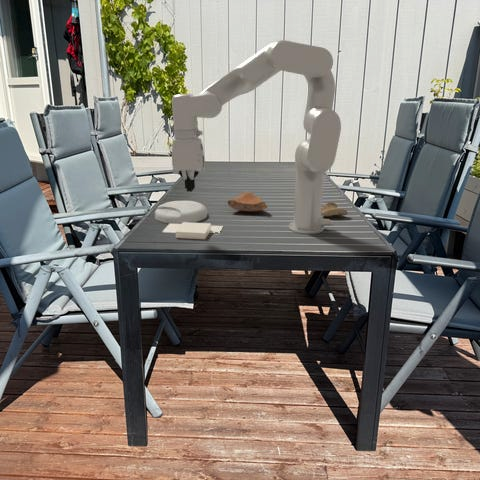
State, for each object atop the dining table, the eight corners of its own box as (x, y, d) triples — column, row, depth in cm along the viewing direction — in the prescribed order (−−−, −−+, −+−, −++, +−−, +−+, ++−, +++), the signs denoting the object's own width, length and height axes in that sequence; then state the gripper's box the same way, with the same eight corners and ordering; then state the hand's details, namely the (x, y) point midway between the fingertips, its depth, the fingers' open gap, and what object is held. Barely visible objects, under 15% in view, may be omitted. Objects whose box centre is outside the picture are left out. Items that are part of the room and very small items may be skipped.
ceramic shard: (275, 207, 191) (244, 196, 197) (276, 193, 188) (245, 183, 194) (258, 222, 181) (226, 211, 187) (259, 208, 177) (226, 197, 183)
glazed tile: (210, 223, 160) (183, 222, 162) (205, 233, 151) (175, 231, 152) (210, 230, 161) (183, 228, 163) (205, 240, 152) (175, 238, 153)
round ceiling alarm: (226, 222, 178) (225, 207, 176) (170, 237, 163) (169, 221, 161) (190, 207, 196) (189, 194, 194) (137, 219, 181) (136, 204, 179)
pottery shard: (349, 218, 180) (338, 205, 188) (350, 209, 177) (340, 196, 185) (323, 222, 178) (314, 209, 186) (324, 212, 175) (315, 199, 183)
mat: (223, 227, 166) (223, 226, 166) (212, 248, 147) (212, 246, 147) (169, 225, 168) (169, 223, 168) (152, 244, 150) (152, 243, 149)
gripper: (211, 132, 148) (214, 187, 155) (166, 133, 150) (171, 187, 157) (207, 136, 141) (210, 193, 148) (160, 136, 143) (165, 193, 150)
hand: (190, 190), depth 152 cm, fingers closed
